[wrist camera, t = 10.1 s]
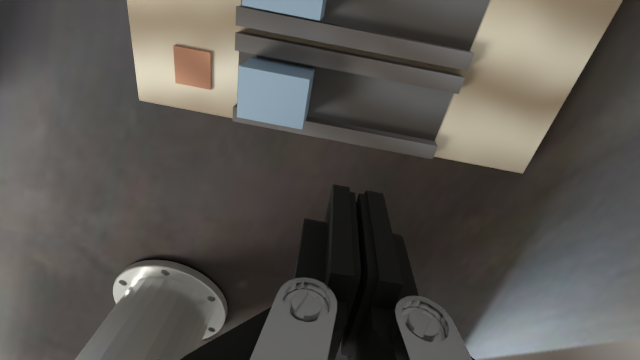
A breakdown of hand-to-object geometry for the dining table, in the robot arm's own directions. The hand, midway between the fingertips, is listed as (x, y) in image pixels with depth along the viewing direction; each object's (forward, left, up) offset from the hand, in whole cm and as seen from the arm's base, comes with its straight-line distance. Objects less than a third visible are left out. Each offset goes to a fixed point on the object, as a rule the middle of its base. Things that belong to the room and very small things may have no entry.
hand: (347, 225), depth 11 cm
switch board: (+4, +1, -15) cm, 15 cm away
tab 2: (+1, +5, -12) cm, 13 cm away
